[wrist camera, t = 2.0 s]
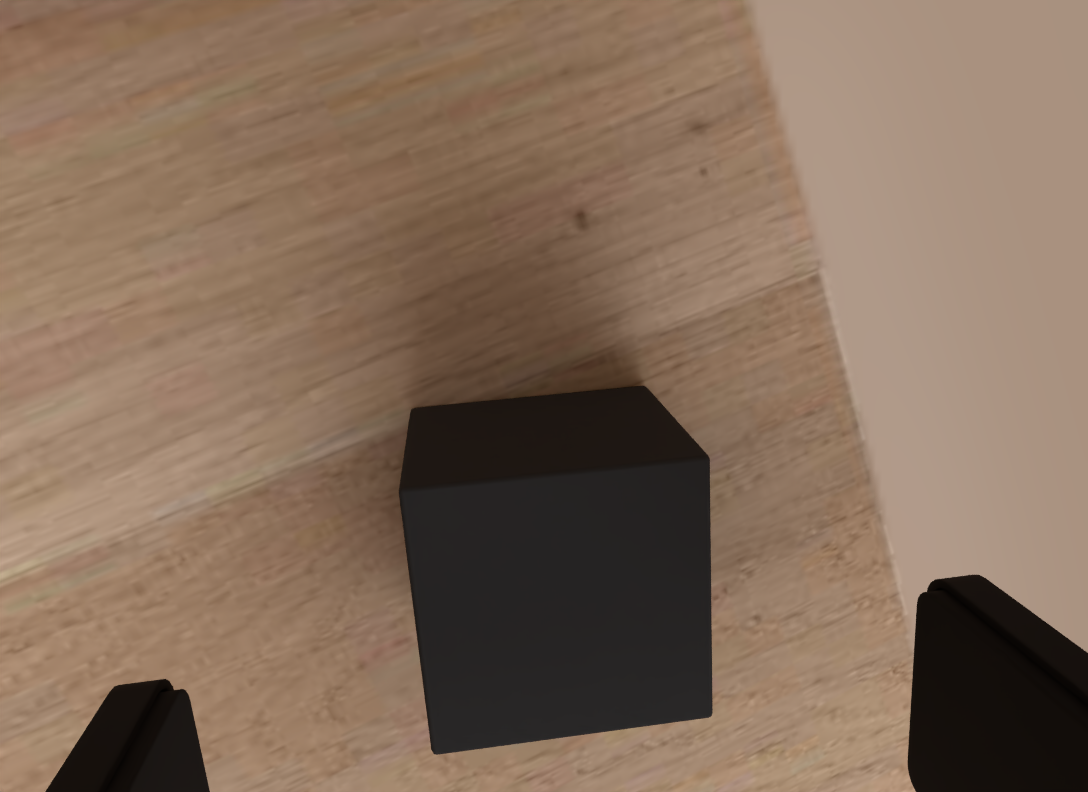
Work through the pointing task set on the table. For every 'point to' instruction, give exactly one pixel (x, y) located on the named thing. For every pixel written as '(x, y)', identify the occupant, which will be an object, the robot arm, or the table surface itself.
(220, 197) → the table surface
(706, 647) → the pad block
